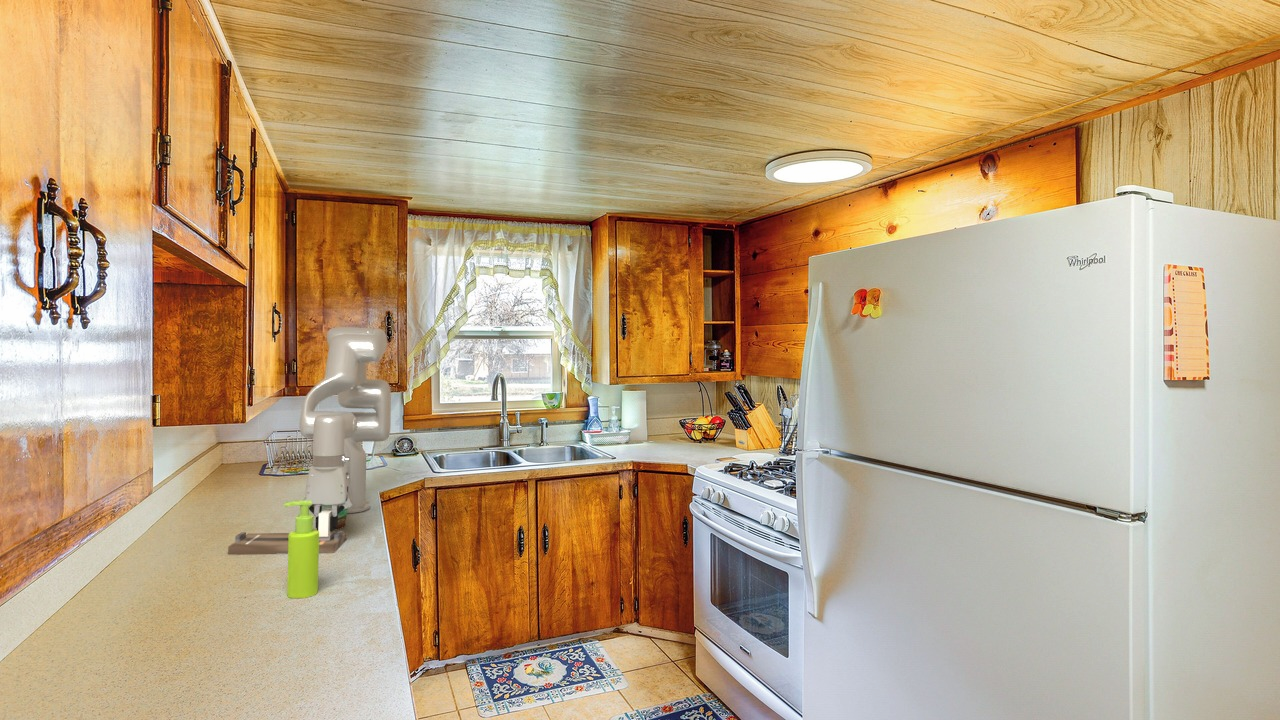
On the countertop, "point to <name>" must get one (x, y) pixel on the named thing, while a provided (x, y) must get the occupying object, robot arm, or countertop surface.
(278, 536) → the slider board
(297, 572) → the soap dispenser
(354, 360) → the robot arm
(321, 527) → the block
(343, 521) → the food container
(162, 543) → the countertop surface
